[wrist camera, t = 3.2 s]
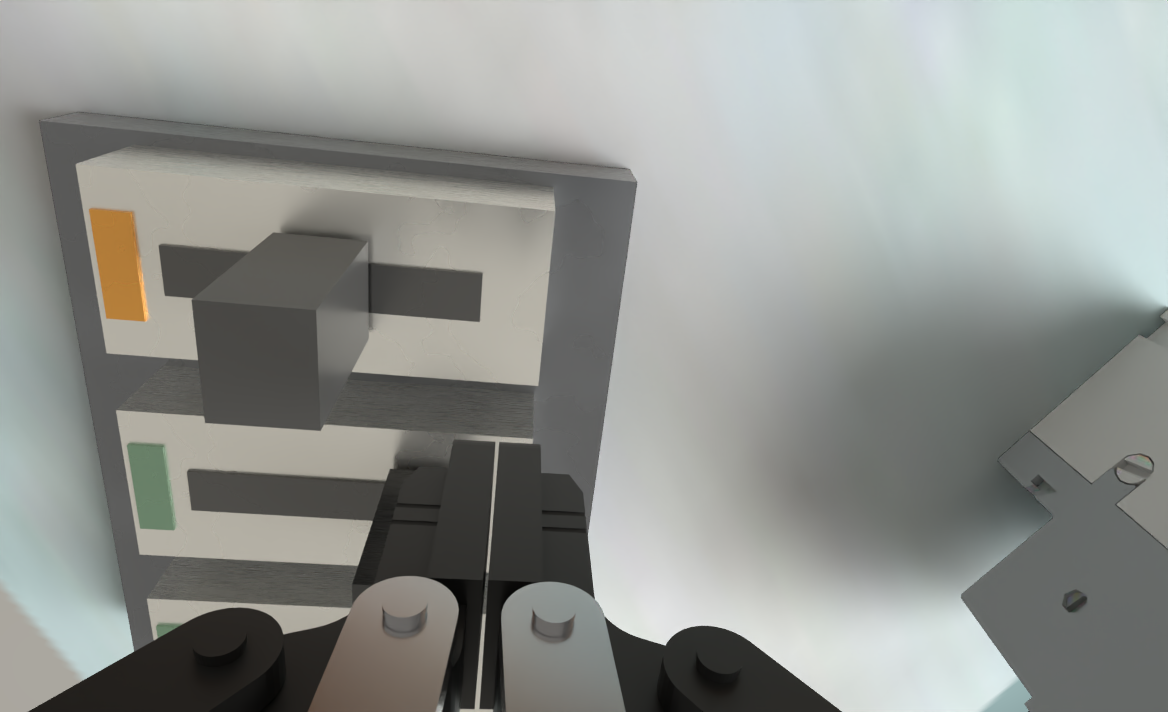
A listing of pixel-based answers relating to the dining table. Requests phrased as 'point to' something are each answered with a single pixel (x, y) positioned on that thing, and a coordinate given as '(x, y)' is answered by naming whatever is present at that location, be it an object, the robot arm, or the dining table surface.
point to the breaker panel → (380, 376)
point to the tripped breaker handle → (282, 331)
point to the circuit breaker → (1091, 546)
